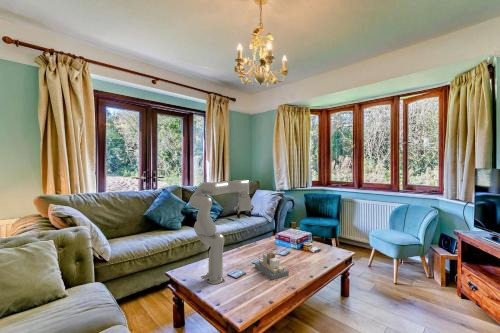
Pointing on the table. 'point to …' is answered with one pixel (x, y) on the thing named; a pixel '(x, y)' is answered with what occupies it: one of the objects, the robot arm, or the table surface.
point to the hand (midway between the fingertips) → (244, 217)
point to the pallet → (275, 270)
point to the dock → (270, 273)
